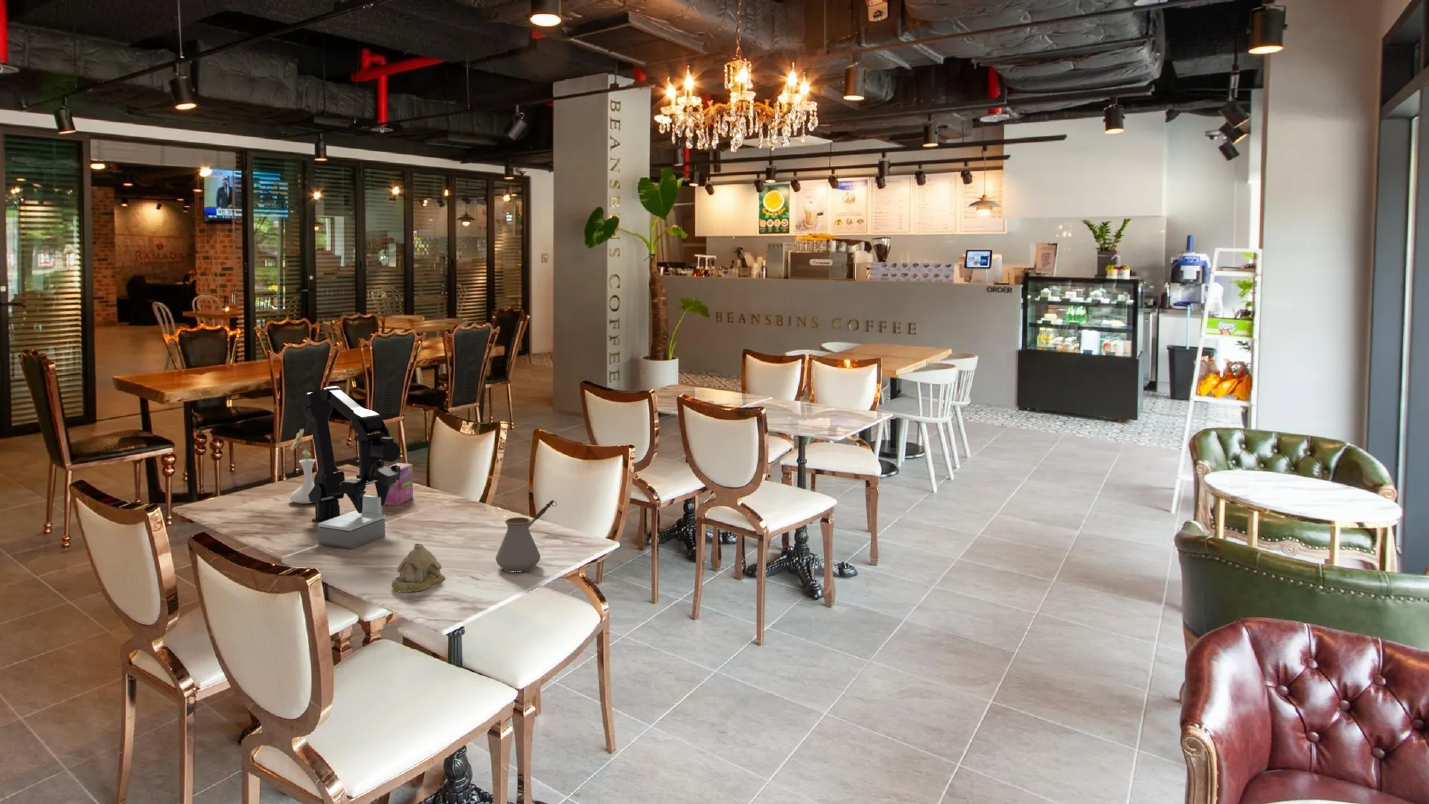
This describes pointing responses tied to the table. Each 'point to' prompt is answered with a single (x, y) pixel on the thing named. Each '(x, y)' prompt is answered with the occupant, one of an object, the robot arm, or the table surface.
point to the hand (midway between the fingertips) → (371, 509)
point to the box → (401, 486)
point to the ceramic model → (417, 571)
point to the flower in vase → (307, 464)
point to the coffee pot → (519, 544)
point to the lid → (357, 516)
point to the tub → (351, 535)
